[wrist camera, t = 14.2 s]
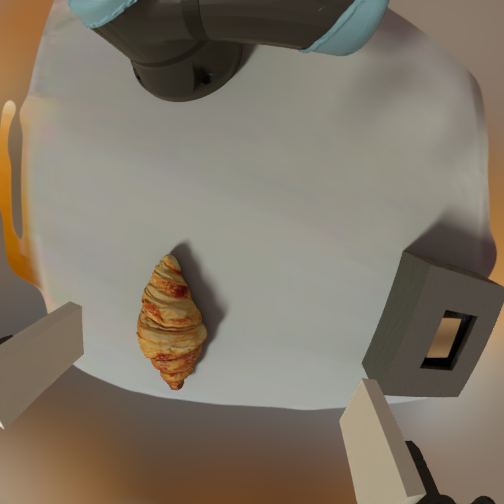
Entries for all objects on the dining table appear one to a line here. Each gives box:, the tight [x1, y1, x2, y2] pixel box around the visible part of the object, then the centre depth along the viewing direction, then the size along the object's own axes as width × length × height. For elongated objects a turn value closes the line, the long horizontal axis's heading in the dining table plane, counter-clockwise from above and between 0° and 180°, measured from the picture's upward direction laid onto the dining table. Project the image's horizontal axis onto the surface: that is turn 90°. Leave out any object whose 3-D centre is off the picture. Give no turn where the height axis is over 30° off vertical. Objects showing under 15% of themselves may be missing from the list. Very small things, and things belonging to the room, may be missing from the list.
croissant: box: [137, 254, 207, 390], centre depth 38 cm, size 21×10×8 cm, turn 179°
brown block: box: [425, 310, 461, 358], centre depth 34 cm, size 6×4×6 cm, turn 173°
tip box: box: [362, 251, 504, 397], centre depth 34 cm, size 18×16×8 cm
